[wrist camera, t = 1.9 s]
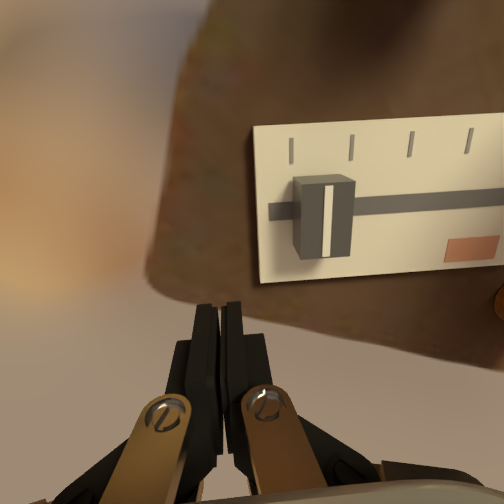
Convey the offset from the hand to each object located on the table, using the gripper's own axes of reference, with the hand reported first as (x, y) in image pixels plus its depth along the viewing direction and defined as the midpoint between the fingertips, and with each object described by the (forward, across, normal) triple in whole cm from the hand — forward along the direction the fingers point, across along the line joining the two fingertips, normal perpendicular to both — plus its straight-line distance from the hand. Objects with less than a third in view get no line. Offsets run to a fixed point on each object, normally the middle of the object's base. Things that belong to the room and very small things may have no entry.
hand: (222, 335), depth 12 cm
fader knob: (+16, -8, 0) cm, 18 cm away
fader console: (+18, -16, 0) cm, 24 cm away
